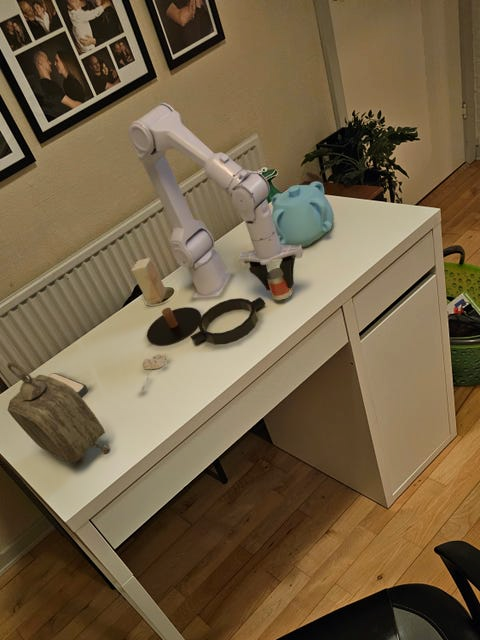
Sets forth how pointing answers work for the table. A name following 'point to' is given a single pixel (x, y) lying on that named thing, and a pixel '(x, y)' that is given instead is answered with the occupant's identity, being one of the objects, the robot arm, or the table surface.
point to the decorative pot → (302, 214)
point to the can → (278, 284)
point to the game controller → (154, 363)
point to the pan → (234, 333)
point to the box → (149, 280)
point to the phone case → (70, 383)
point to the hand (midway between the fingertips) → (280, 286)
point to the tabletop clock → (55, 416)
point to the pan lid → (173, 326)
